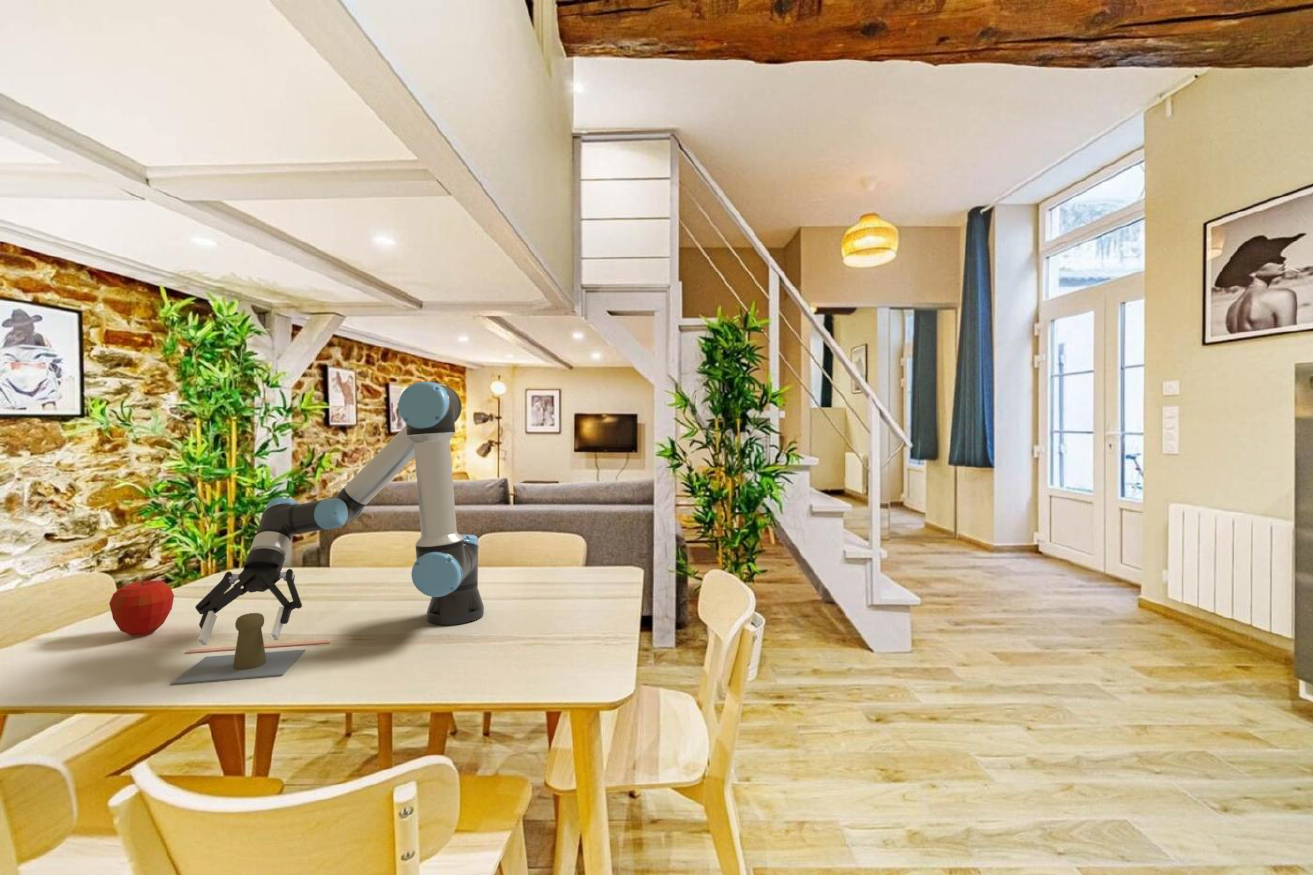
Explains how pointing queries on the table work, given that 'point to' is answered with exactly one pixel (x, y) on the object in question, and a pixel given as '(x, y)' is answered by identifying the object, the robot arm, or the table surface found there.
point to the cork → (249, 642)
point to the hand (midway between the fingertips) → (238, 639)
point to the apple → (141, 606)
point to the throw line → (264, 646)
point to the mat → (223, 670)
